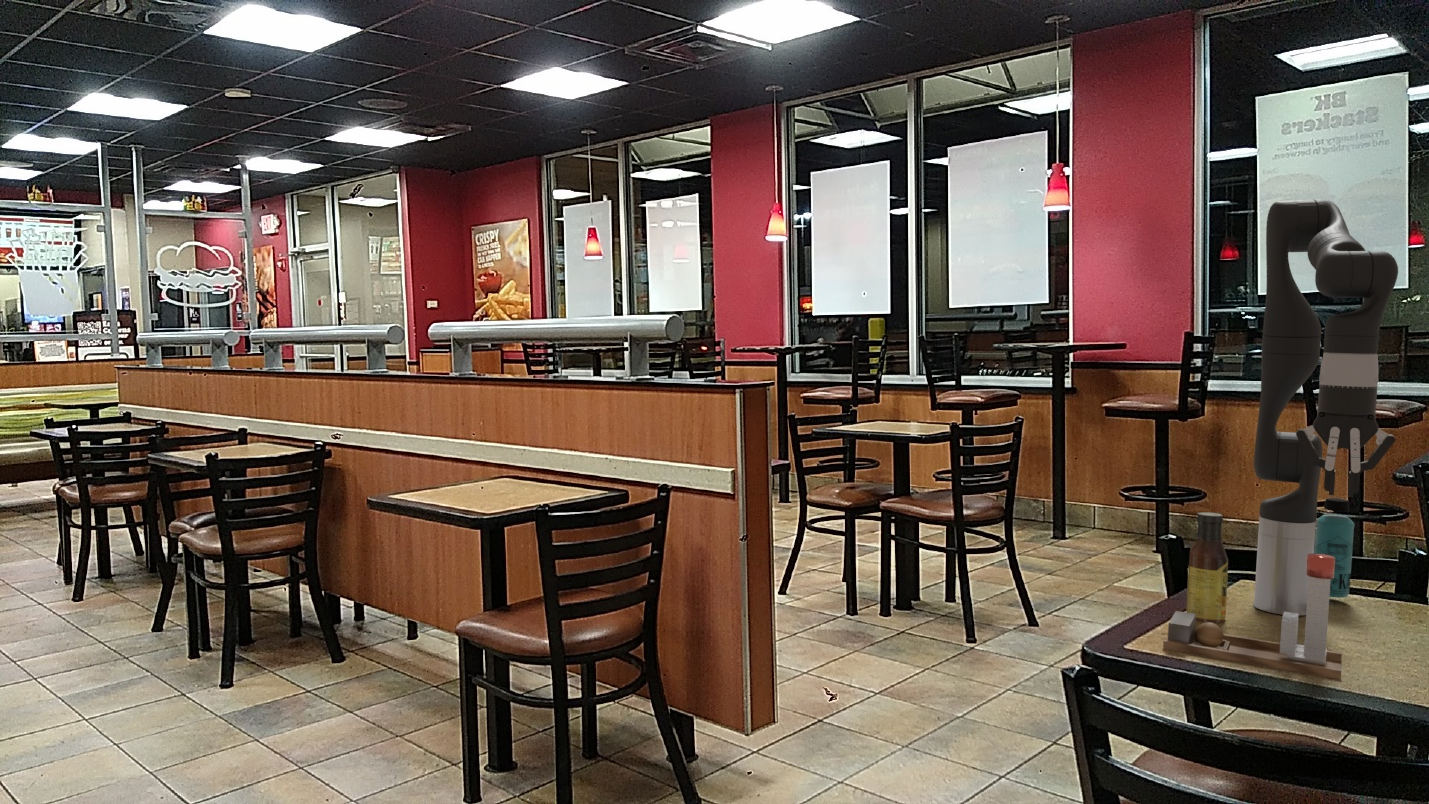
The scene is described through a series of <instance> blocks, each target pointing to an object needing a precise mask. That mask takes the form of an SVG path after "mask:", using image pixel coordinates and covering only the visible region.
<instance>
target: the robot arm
mask: <svg viewBox="0 0 1429 804" xmlns="http://www.w3.org/2000/svg"><path fill="white" fill-rule="evenodd" d="M1265 232H1266V233H1265V237H1266V238H1265V240H1266V241H1265V243H1266V244H1265V247H1266V248H1265V249H1266V250H1265V251H1266V291H1265V292H1266V294H1265V307H1264V316H1263V328H1262V341H1261V342H1262V343H1261V367H1260V369H1261V370H1260V371H1261V378H1260V399H1259V407H1258V408H1259V411H1258V418H1257V426H1256V434H1255V436H1256V437H1255V442H1254V453H1253V468H1254V474H1255V476H1256V477H1257V478H1258V479H1260V480H1263V481H1273V482H1283V483H1285V482H1286V483H1293V484H1295V483H1297V484H1299V485H1298V488H1296V489H1294V491H1291V492H1290V493H1287V494H1284V495H1280V496H1276V497H1271V498H1266V499H1264V500H1262V501H1261V502H1260V505H1259V515H1258V516H1259V518H1258V536H1257V551H1256V564H1255V565H1256V568H1255V582H1254V585H1255V586H1254V596H1253V597H1254V598H1253V599H1254V600H1253V606H1254V607H1255V608H1256V609H1259V610H1261V611H1262V612H1263V611H1264V612H1267V613H1272V614H1276V615H1282V616H1283V613H1284V612H1290V613H1297V614H1299V616H1306V611H1307V596H1308V581H1309V576H1307V575H1306V567H1307V555H1308V554H1314V551H1315V540H1316V528H1317V519H1318V518H1317V515H1318V514H1317V512H1318V495H1319V494H1318V493H1319V485H1320V484H1319V483H1320V477H1321V470H1322V469H1323V471H1324V481H1323V489H1324V491H1325V492H1328V495H1329V496H1334V495H1335V485H1336V473H1337V471H1336V469H1335V467H1336V466H1335V463H1336V458H1337V457H1336V455H1337V450H1339V449H1347V450H1349V451H1350V471H1349V472H1348V485H1347V486H1348V488H1347V497H1348V498H1349V497H1350V498H1353V497H1354V494H1358V493H1359V492H1360V479H1361V478H1360V477H1361V474H1362V472H1367V471H1371V470H1374V469H1375V468H1376V467H1377V465H1378V464H1379V462H1380V461H1381V460H1382V459H1383V457H1384V456H1385V455H1386V454H1387V452H1388V451H1389V449H1391V447H1392V446H1393V445H1394V444H1395V442H1396V436H1395V435H1394V434H1393V433H1392V434H1389V433H1387V432H1386V431H1384V430H1382V429H1381V428H1379V424H1378V423H1377V420H1376V411H1377V396H1378V383H1379V370H1380V369H1379V360H1378V359H1379V358H1378V355H1379V354H1378V353H1379V342H1380V340H1379V339H1380V328H1381V324H1382V321H1383V317H1384V314H1385V310H1386V307H1387V305H1388V303H1389V301H1390V297H1391V295H1392V293H1393V291H1394V289H1395V288H1394V287H1395V286H1396V283H1397V279H1398V275H1399V266H1398V262H1397V261H1396V258H1395V257H1394V256H1393V255H1392V254H1390V252H1387V251H1385V250H1384V251H1383V250H1366V249H1365V247H1364V246H1363V245H1362V244H1361V243H1360V242H1359V241H1358V240H1356V239H1355V238H1354V237H1353V236H1352V235H1351V234H1350V231H1349V229H1348V226H1347V223H1346V221H1345V219H1344V216H1343V214H1342V212H1341V209H1340V208H1339V207H1338V205H1337V204H1335V202H1333V201H1331V200H1329V199H1328V200H1327V199H1319V198H1318V199H1316V198H1315V199H1295V200H1293V199H1290V200H1278V201H1275V202H1274V203H1272V204H1271V205H1270V207H1269V209H1268V214H1267V218H1266V230H1265ZM1289 253H1307V259H1308V261H1309V263H1310V265H1311V266H1312V267H1313V269H1314V270H1315V275H1314V277H1315V279H1314V282H1315V287H1316V289H1317V291H1318V292H1319V294H1322V295H1323V296H1325V297H1328V298H1334V299H1335V298H1336V299H1338V298H1339V299H1343V298H1345V299H1346V298H1347V299H1349V298H1351V299H1354V298H1355V299H1356V298H1357V299H1358V298H1359V299H1360V298H1361V299H1363V298H1364V299H1363V303H1362V304H1361V305H1360V306H1359V308H1357V309H1355V310H1354V311H1350V312H1344V313H1339V314H1338V313H1337V314H1333V315H1330V316H1329V317H1328V318H1327V319H1326V322H1325V325H1324V336H1323V337H1324V338H1323V353H1322V354H1323V355H1322V359H1321V363H1320V362H1319V361H1320V355H1321V353H1320V352H1321V337H1322V325H1321V323H1320V322H1321V321H1320V320H1319V318H1318V316H1317V314H1316V313H1315V311H1314V309H1313V307H1312V306H1311V305H1310V303H1309V302H1308V300H1307V299H1306V298H1305V296H1304V294H1303V293H1302V291H1301V290H1300V288H1299V286H1298V284H1297V283H1296V281H1295V279H1294V277H1293V274H1292V271H1291V266H1290V260H1289ZM1319 363H1320V369H1319V376H1318V380H1319V385H1318V387H1319V388H1318V401H1317V416H1316V418H1315V419H1314V420H1313V422H1312V425H1309V426H1307V427H1305V428H1299V429H1298V430H1297V431H1296V432H1294V431H1293V432H1292V431H1291V432H1289V431H1278V430H1277V424H1278V422H1279V419H1280V416H1281V415H1282V413H1283V411H1284V410H1285V408H1286V407H1287V405H1288V404H1289V402H1290V401H1291V399H1292V398H1293V397H1294V396H1295V394H1296V393H1297V392H1298V391H1299V389H1300V388H1302V387H1303V385H1304V384H1305V382H1307V380H1308V379H1309V378H1310V377H1311V375H1312V374H1313V372H1314V371H1315V370H1316V368H1317V366H1318V364H1319ZM1315 432H1316V433H1317V434H1318V435H1317V434H1315ZM1374 436H1376V440H1375V444H1376V445H1377V447H1376V448H1375V450H1374V451H1373V452H1372V453H1371V454H1370V456H1369V457H1368V459H1367V460H1365V461H1361V449H1362V448H1363V447H1364V446H1365V445H1366V444H1367V443H1368V442H1369V441H1370V440H1371V439H1372V438H1374ZM1322 441H1323V442H1324V444H1325V446H1327V450H1326V451H1327V452H1326V456H1325V458H1323V443H1322Z"/></svg>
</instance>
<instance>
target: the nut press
mask: <svg viewBox="0 0 1429 804" xmlns="http://www.w3.org/2000/svg"><path fill="white" fill-rule="evenodd" d="M1196 621H1197V620H1196V614H1193V613H1187V611H1180V610H1179V611H1178V610H1175V612H1174V614H1173V615H1172V617H1171V619H1170V620H1169V622H1168V626H1167V627H1168V629H1167V639H1163V645H1162V649H1163V650H1167V651H1172V652H1178V653H1179V652H1180V653H1185V654H1190V655H1197V656H1201V657H1207V658H1212V659H1213V658H1214V659H1218V660H1219V659H1220V660H1225V661H1230V662H1237V663H1243V664H1247V665H1254V666H1261V667H1266V668H1272V669H1277V670H1283V671H1289V672H1294V673H1299V674H1306V675H1310V676H1317V677H1323V678H1328V679H1335V680H1339V681H1341V680H1342V679H1341V678H1342V677H1341V676H1342V658H1343V657H1342V656H1343V655H1342V654H1343V652H1339V651H1334V650H1333V651H1332V650H1327V652H1326V666H1325V667H1323V666H1317V665H1311V664H1305V663H1299V662H1293V661H1287V654H1281V653H1280V642H1277V641H1271V640H1265V639H1259V638H1252V637H1244V636H1240V635H1239V636H1238V635H1234V634H1233V635H1232V634H1227V633H1223V635H1224V638H1223V641H1222V643H1221V644H1220V645H1219V646H1217V647H1210V646H1204V645H1201V644H1200V643H1199V642H1198V640H1197V638H1196V630H1197V628H1196Z"/></svg>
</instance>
